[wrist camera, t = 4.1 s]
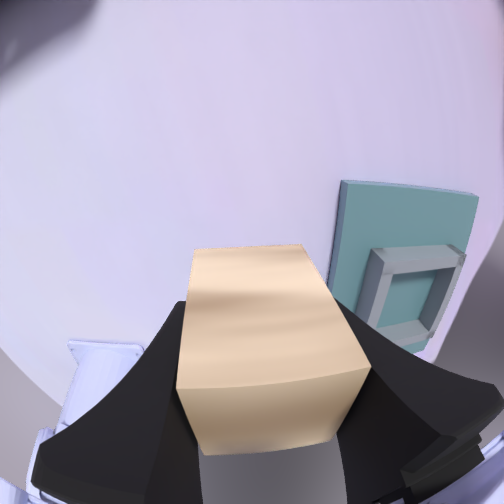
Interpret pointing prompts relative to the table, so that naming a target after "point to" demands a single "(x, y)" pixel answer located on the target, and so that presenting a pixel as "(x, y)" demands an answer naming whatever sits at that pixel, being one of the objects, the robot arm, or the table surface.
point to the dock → (399, 256)
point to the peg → (264, 352)
